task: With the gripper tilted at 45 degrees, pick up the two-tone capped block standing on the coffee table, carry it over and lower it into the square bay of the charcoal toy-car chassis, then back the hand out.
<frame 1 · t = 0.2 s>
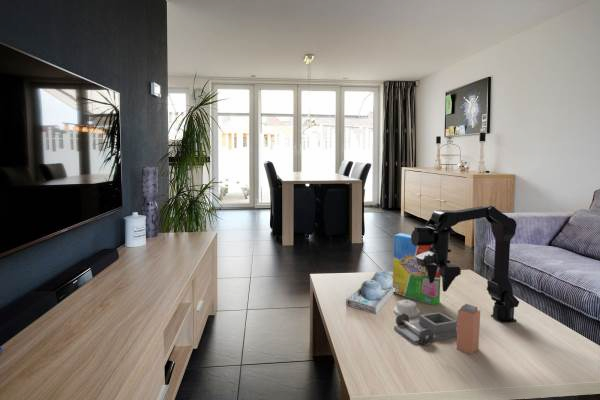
hand: (437, 287, 143), 14 cm above the table, tool pointing down, fingers open, 9 cm apart
mechanical component: (406, 313, 156), on the table
game box: (415, 298, 172), on the table
two-tone capped block: (467, 348, 126), on the table
chassis: (437, 330, 140), on the table
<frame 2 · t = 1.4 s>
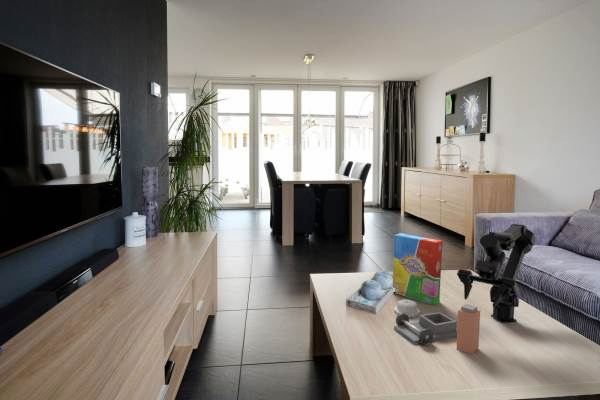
hand: (478, 302, 130), 13 cm above the table, tool tilted 45°, fingers open, 9 cm apart
nothing on the table moved.
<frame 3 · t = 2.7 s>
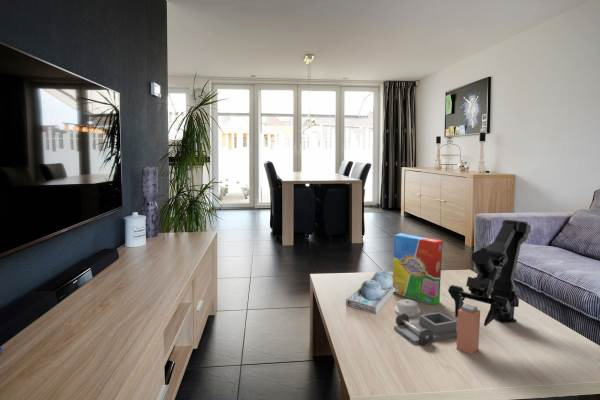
hand: (470, 321, 126), 9 cm above the table, tool tilted 45°, fingers open, 9 cm apart
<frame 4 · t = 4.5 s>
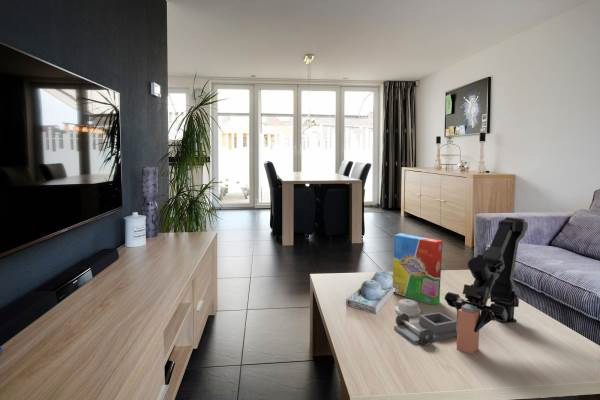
hand: (466, 329, 125), 7 cm above the table, tool tilted 45°, fingers closed on two-tone capped block, 5 cm apart
two-tone capped block: (467, 348, 126), on the table, touching gripper
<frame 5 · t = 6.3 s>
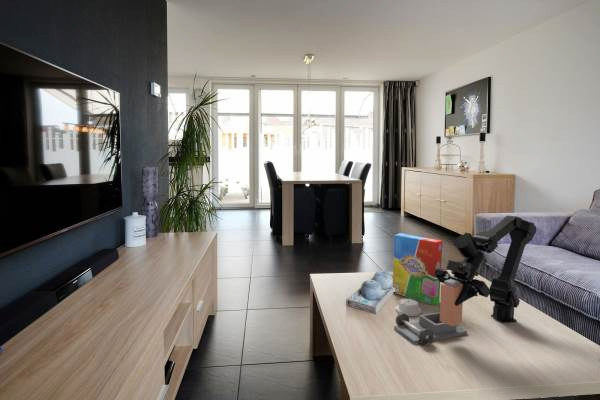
hand: (448, 302, 131), 13 cm above the table, tool tilted 45°, fingers closed on two-tone capped block, 5 cm apart
two-tone capped block: (450, 321, 132), point 6 cm above the table, touching gripper
when the fingers open (10 cm above the table, at t = 8.5 s): two-tone capped block drops 1 cm, resting on chassis.
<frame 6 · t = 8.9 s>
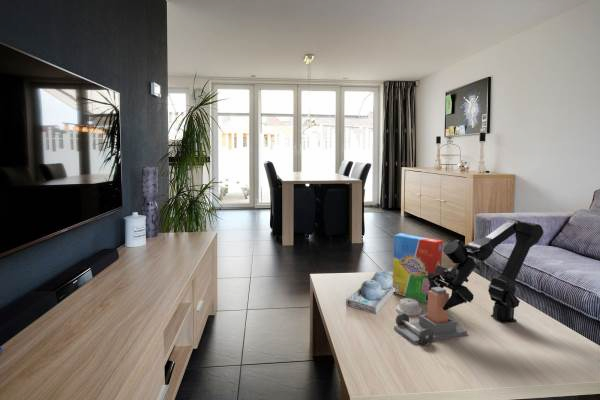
hand: (434, 304, 138), 10 cm above the table, tool tilted 45°, fingers open, 9 cm apart
two-tone capped block: (437, 327, 140), point 1 cm above the table, touching chassis
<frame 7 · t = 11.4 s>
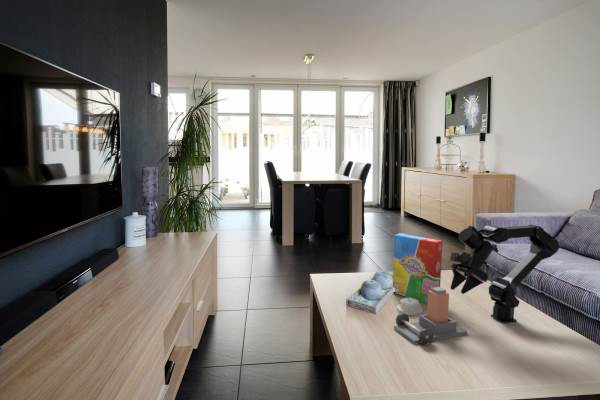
hand: (456, 291, 142), 13 cm above the table, tool tilted 35°, fingers open, 9 cm apart
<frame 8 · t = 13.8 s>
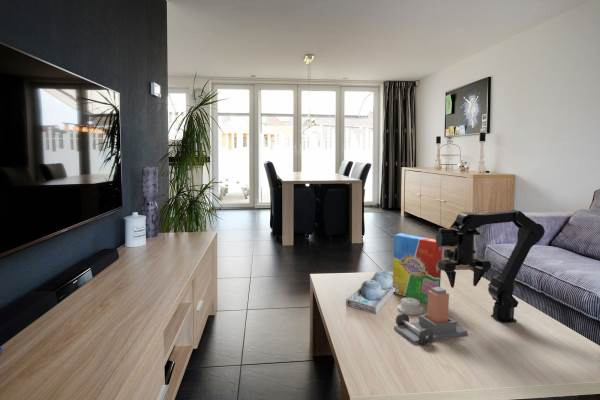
hand: (463, 286, 147), 13 cm above the table, tool pointing down, fingers open, 9 cm apart
at the end: two-tone capped block 0.0 cm off-centre on the chassis, point 1.2 cm above the chassis's base; two-tone capped block tilted 0°; the gripper is holding nothing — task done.
